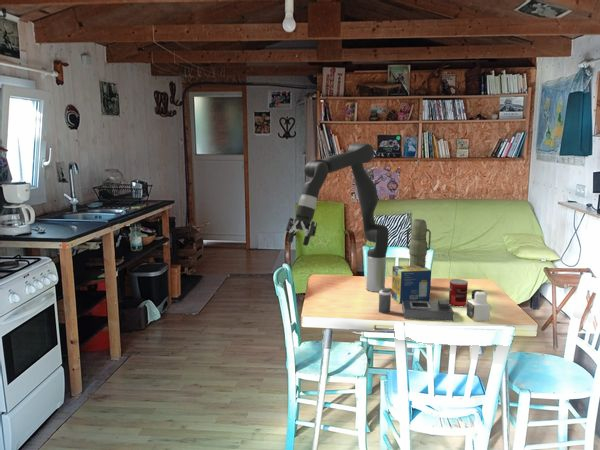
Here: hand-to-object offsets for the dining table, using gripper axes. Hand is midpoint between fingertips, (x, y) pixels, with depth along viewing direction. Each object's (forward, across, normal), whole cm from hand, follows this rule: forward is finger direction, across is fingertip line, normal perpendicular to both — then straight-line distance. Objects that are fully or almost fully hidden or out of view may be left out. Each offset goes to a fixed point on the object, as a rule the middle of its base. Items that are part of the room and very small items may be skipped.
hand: (297, 243), depth 217 cm
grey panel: (+15, -42, -46) cm, 64 cm away
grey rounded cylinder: (+19, -26, -38) cm, 49 cm away
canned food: (+7, -45, -68) cm, 82 cm away
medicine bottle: (+11, -60, -56) cm, 83 cm away
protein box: (+11, -25, -60) cm, 66 cm away
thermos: (+3, -16, -80) cm, 82 cm away
